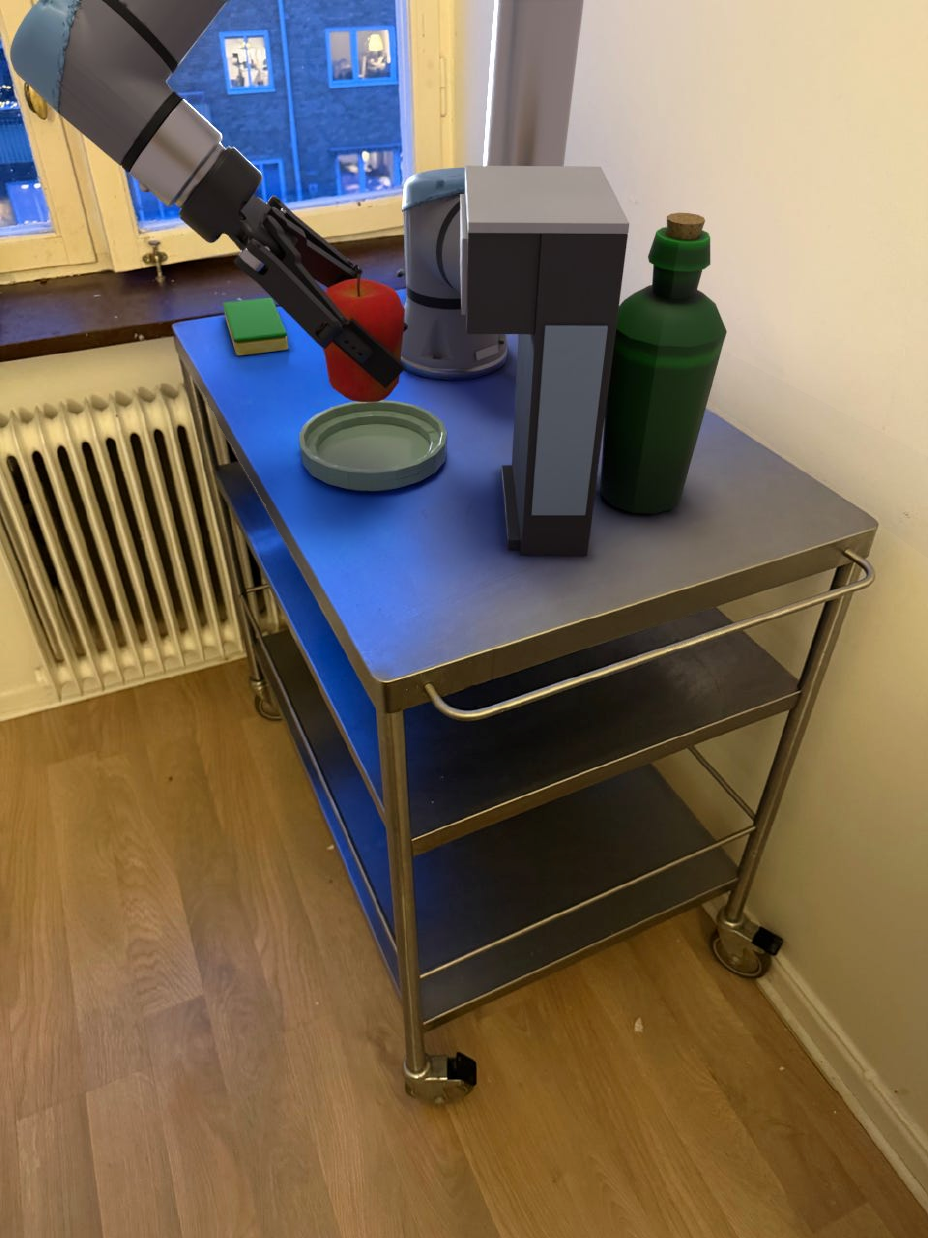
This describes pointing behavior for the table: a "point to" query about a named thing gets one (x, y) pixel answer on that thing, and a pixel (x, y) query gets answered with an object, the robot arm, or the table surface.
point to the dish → (373, 445)
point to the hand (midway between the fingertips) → (397, 355)
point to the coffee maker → (547, 333)
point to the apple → (380, 318)
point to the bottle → (661, 373)
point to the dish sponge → (255, 326)
